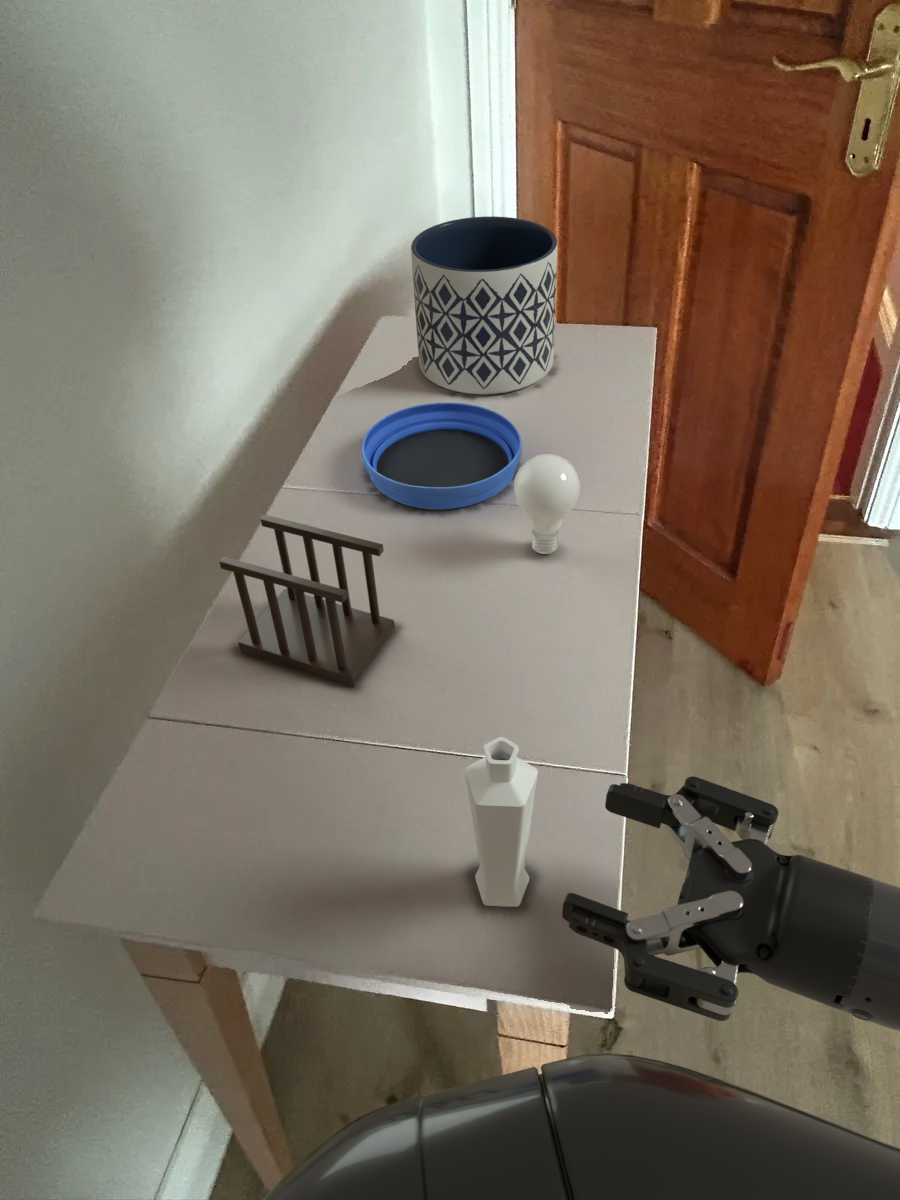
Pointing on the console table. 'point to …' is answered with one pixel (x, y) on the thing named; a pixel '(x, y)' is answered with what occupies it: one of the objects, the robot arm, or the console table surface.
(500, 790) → the perfume bottle
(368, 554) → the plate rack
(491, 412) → the bowl
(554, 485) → the lightbulb
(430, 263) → the planter
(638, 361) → the console table surface
